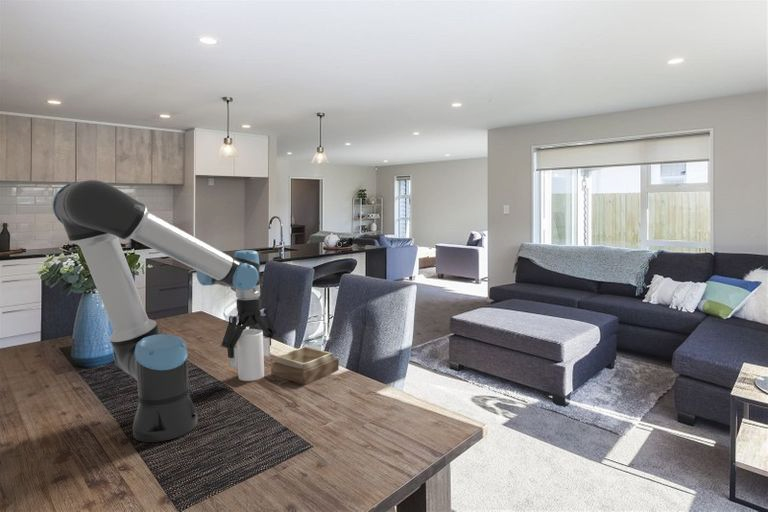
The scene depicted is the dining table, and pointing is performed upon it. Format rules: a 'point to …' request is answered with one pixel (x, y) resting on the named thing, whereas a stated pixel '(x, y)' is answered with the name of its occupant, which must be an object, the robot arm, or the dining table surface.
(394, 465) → the dining table surface
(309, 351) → the birch crate
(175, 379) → the robot arm
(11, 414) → the dining table surface
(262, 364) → the cup
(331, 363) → the box
